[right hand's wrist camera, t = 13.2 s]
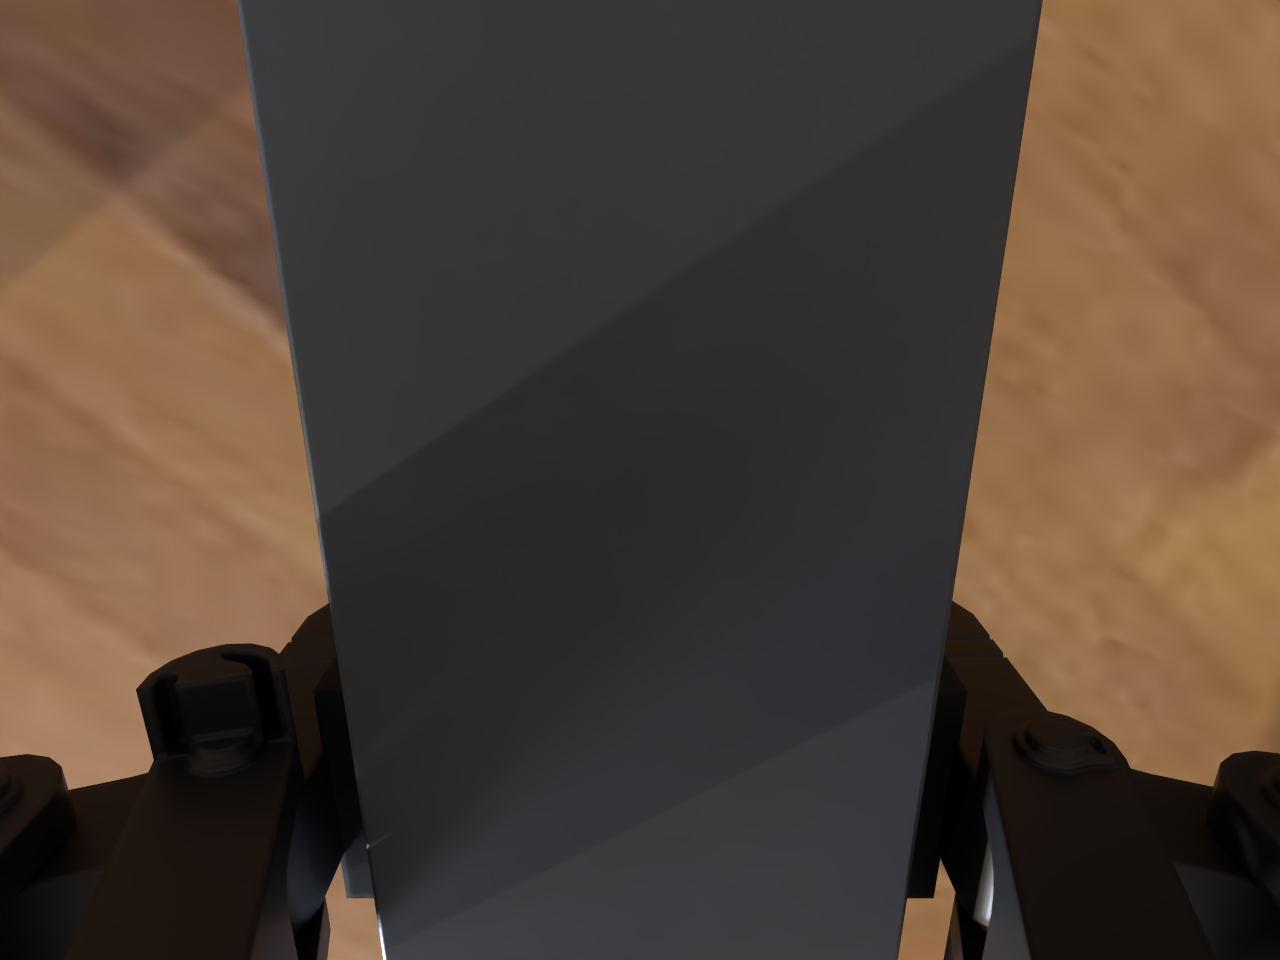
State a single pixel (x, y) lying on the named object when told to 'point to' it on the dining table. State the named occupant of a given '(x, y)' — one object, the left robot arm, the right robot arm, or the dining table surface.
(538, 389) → the beam
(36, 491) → the dining table surface
